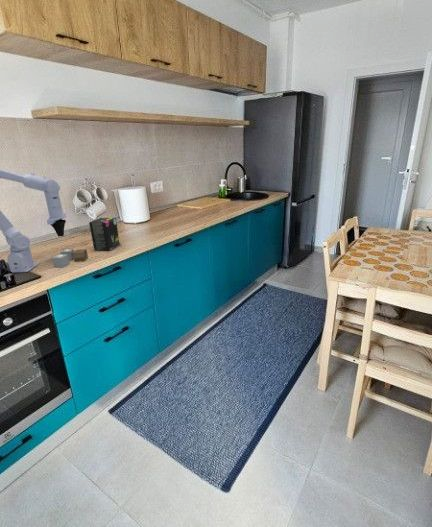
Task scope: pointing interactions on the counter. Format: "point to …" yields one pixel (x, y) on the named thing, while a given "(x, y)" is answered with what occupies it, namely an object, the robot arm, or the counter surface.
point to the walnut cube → (80, 255)
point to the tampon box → (104, 234)
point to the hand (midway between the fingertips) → (60, 236)
